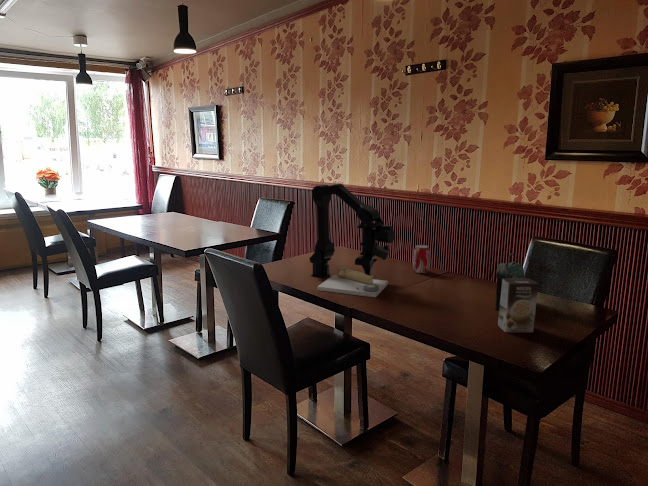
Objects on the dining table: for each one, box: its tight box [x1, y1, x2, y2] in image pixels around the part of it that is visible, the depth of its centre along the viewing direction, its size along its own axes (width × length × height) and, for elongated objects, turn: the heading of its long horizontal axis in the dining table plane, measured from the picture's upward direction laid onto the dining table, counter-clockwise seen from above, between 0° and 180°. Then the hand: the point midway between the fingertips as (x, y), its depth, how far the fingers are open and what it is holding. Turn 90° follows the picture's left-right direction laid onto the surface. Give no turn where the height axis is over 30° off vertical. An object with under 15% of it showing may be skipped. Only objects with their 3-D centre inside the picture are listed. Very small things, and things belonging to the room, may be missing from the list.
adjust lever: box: [337, 267, 374, 284], centre depth 202 cm, size 17×4×4 cm, turn 49°
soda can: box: [412, 244, 431, 274], centre depth 219 cm, size 7×7×12 cm
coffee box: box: [497, 277, 539, 333], centre depth 154 cm, size 9×6×16 cm
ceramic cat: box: [495, 252, 526, 312], centre depth 175 cm, size 20×6×20 cm, turn 139°
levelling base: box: [317, 274, 389, 298], centre depth 198 cm, size 24×18×3 cm
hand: (368, 276), depth 200 cm, fingers closed
